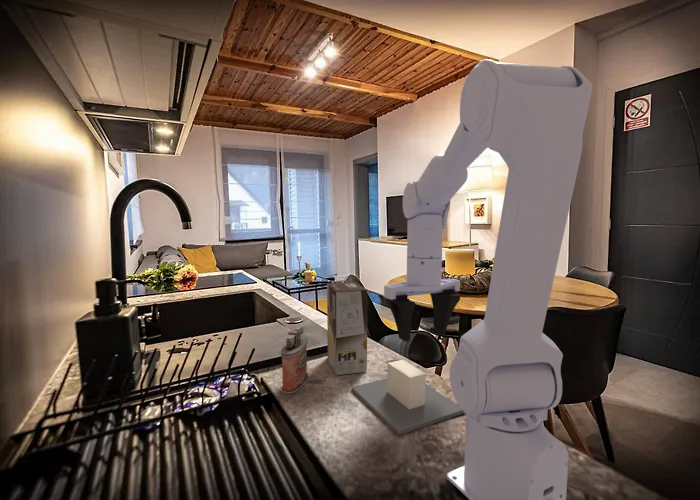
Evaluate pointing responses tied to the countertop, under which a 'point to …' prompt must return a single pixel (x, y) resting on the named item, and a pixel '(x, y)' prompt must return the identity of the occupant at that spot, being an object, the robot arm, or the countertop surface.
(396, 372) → the beige rectangular block
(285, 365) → the lighter
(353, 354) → the coffee box
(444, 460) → the countertop surface
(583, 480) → the countertop surface
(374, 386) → the mat
